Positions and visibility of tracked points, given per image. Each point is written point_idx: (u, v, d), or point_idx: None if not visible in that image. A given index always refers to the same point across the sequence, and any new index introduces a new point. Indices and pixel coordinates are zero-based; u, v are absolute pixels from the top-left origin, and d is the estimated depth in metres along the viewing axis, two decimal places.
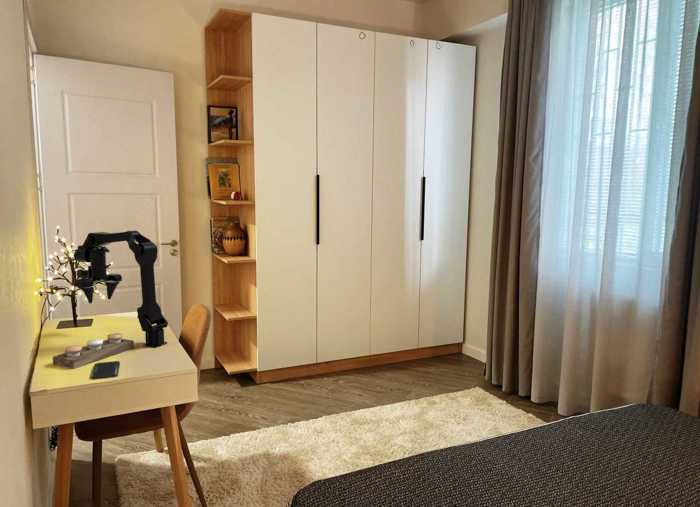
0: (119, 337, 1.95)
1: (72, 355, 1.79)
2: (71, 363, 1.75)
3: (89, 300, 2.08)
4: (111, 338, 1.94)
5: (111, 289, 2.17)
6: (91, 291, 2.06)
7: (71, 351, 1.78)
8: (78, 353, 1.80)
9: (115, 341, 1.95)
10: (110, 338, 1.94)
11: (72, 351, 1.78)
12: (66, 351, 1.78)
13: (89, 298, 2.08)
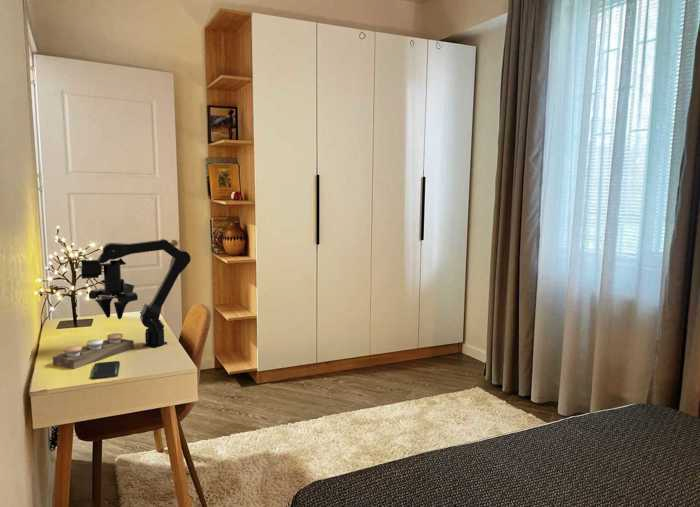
0: (119, 337, 1.95)
1: (72, 355, 1.79)
2: (71, 363, 1.75)
3: None
4: (111, 338, 1.94)
5: None
6: (99, 304, 1.95)
7: (71, 351, 1.78)
8: (78, 353, 1.80)
9: (115, 341, 1.95)
10: (110, 338, 1.94)
11: (72, 351, 1.78)
12: (66, 351, 1.78)
13: None
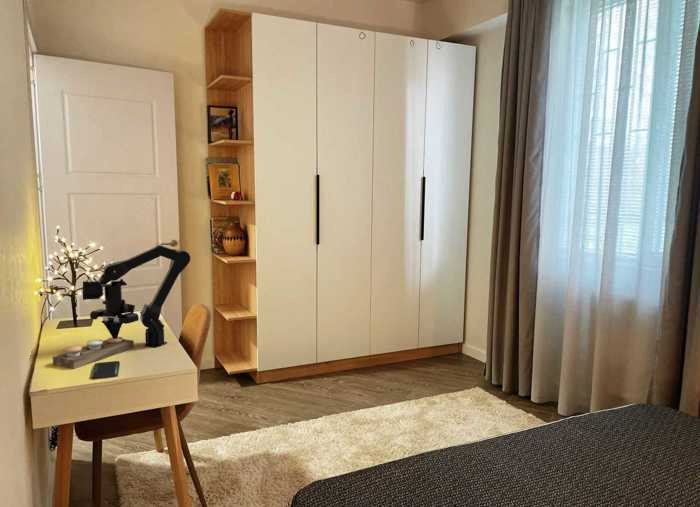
0: (119, 340, 1.96)
1: (72, 355, 1.79)
2: (71, 363, 1.75)
3: None
4: (111, 341, 1.94)
5: None
6: (106, 325, 1.95)
7: (71, 351, 1.78)
8: (78, 353, 1.80)
9: None
10: (110, 341, 1.94)
11: (72, 351, 1.78)
12: (66, 351, 1.78)
13: None
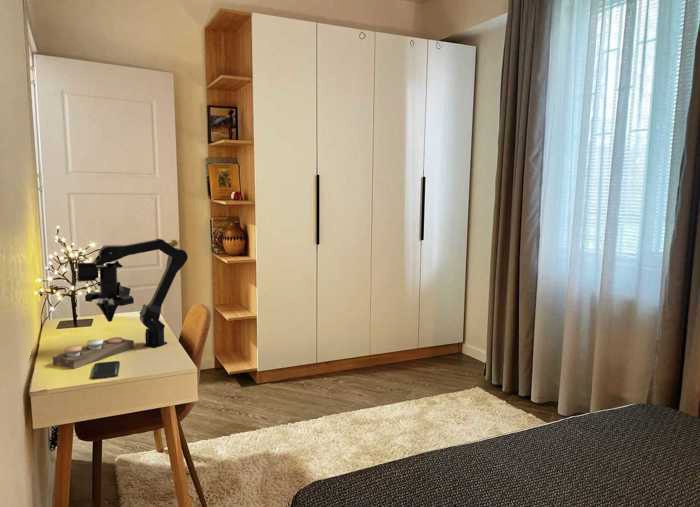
0: (119, 341, 1.96)
1: (72, 355, 1.79)
2: (71, 363, 1.75)
3: None
4: (111, 342, 1.94)
5: None
6: (101, 308, 1.92)
7: (71, 351, 1.78)
8: (78, 353, 1.80)
9: None
10: (110, 342, 1.94)
11: (72, 351, 1.78)
12: (66, 351, 1.78)
13: None
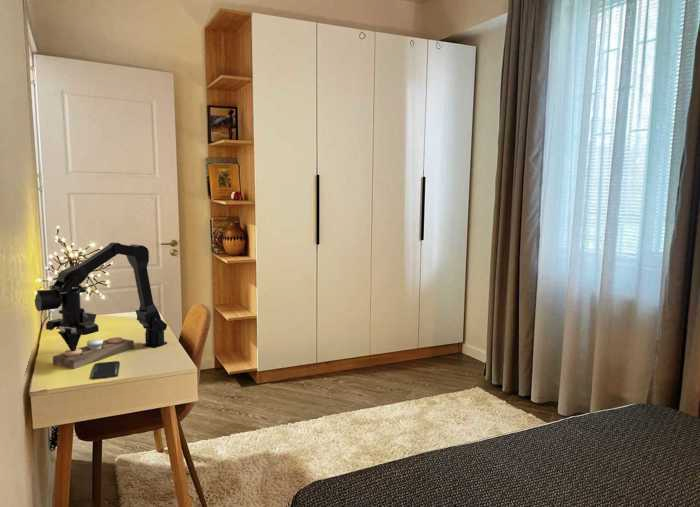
0: (119, 341, 1.96)
1: None
2: (71, 363, 1.75)
3: None
4: (111, 342, 1.94)
5: None
6: (63, 337, 1.78)
7: (71, 354, 1.78)
8: None
9: None
10: (110, 342, 1.94)
11: (72, 354, 1.78)
12: (66, 354, 1.78)
13: None
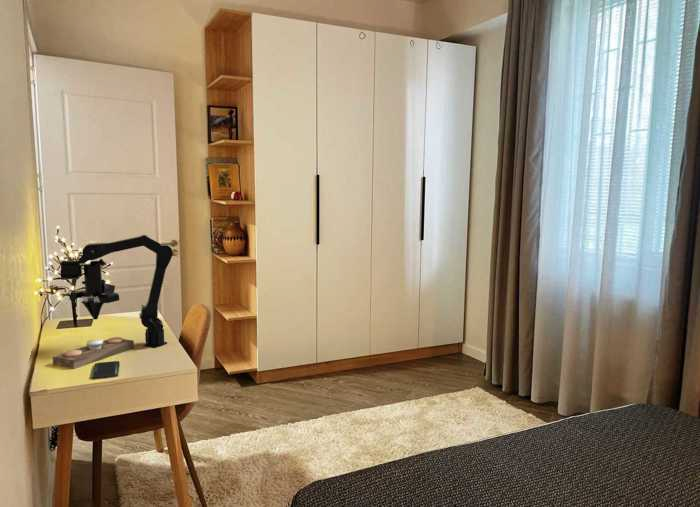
0: (119, 341, 1.96)
1: None
2: (71, 363, 1.75)
3: None
4: (111, 342, 1.94)
5: None
6: (86, 306, 1.92)
7: (71, 355, 1.78)
8: None
9: None
10: (110, 342, 1.94)
11: (72, 355, 1.78)
12: (66, 355, 1.78)
13: None
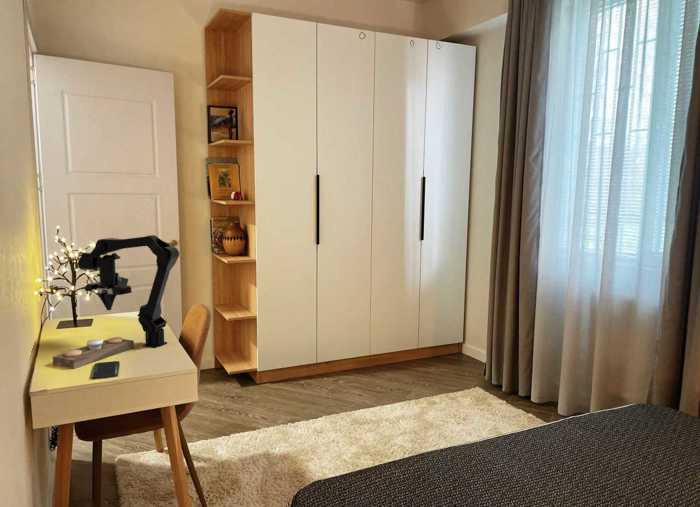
0: (119, 341, 1.96)
1: None
2: (71, 363, 1.75)
3: None
4: (111, 342, 1.94)
5: None
6: (100, 297, 2.02)
7: (71, 355, 1.78)
8: None
9: None
10: (110, 342, 1.94)
11: (72, 355, 1.78)
12: (66, 355, 1.78)
13: None
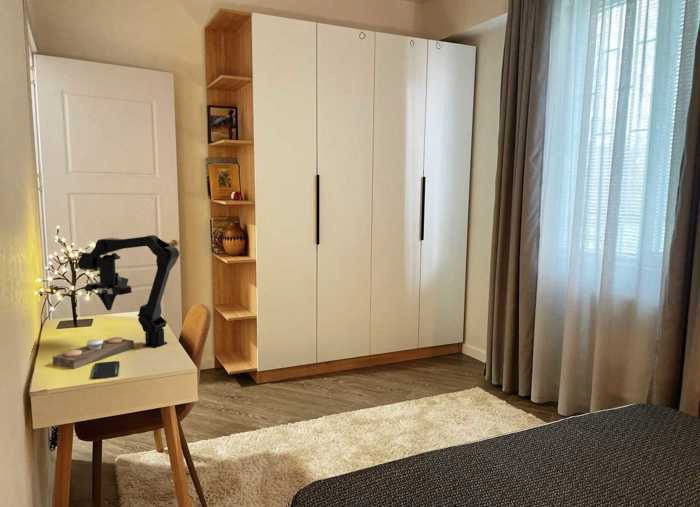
0: (119, 341, 1.96)
1: None
2: (71, 363, 1.75)
3: None
4: (111, 342, 1.94)
5: None
6: (100, 297, 2.02)
7: (71, 355, 1.78)
8: None
9: None
10: (110, 342, 1.94)
11: (72, 355, 1.78)
12: (66, 355, 1.78)
13: None
